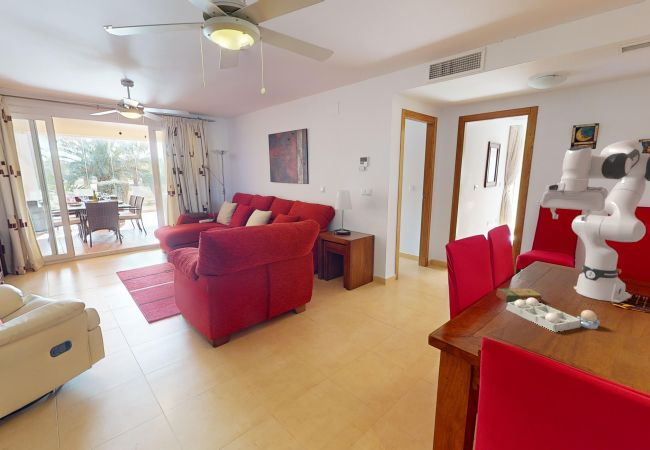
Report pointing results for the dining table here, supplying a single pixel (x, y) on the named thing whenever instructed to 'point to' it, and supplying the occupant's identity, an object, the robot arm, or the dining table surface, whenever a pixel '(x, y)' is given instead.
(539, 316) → the tray
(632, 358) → the dining table surface
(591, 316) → the egg
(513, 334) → the dining table surface
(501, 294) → the carton
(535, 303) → the egg
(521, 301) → the egg
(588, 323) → the egg cup
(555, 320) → the egg
